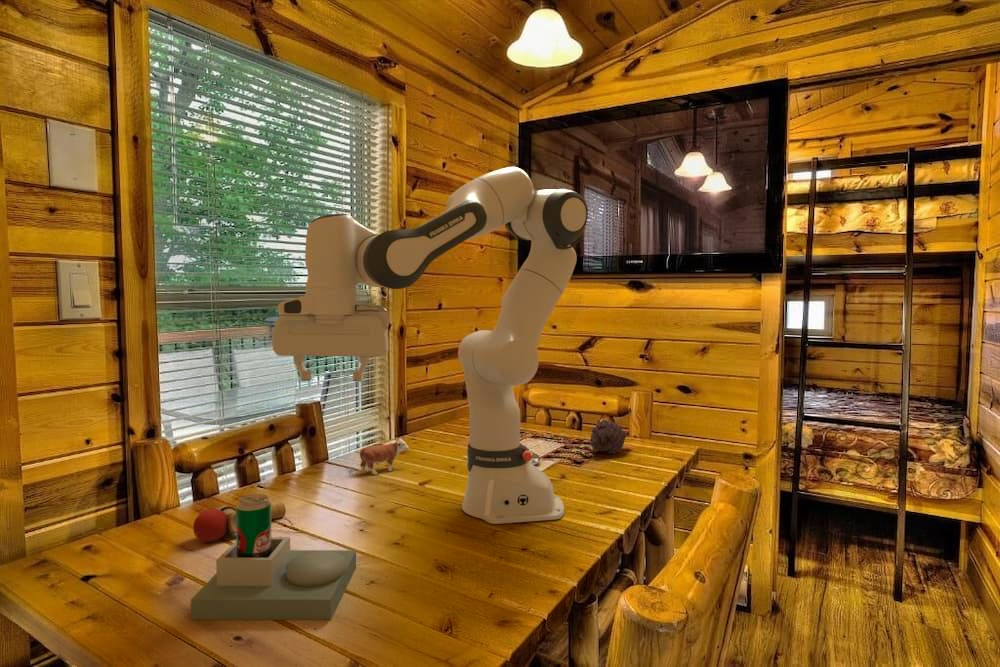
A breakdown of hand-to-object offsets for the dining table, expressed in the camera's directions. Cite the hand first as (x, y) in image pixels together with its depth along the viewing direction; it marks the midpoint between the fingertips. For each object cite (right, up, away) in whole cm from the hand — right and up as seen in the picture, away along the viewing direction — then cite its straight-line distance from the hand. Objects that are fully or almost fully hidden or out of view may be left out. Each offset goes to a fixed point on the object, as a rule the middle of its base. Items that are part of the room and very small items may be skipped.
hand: (332, 380), depth 105 cm
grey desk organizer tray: (-4, -32, -14) cm, 35 cm away
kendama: (-21, -31, +10) cm, 38 cm away
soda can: (-8, -29, -14) cm, 34 cm away
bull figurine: (0, -28, +48) cm, 56 cm away
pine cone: (+62, -27, +67) cm, 96 cm away
